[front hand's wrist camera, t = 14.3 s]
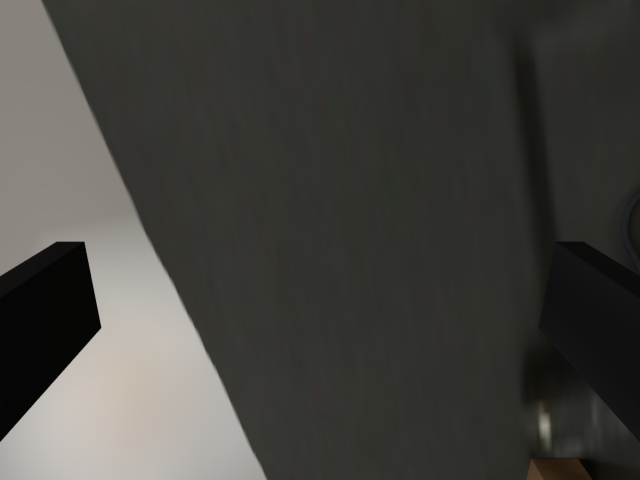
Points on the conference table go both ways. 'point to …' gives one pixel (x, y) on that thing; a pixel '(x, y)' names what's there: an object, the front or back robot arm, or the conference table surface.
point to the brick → (557, 469)
